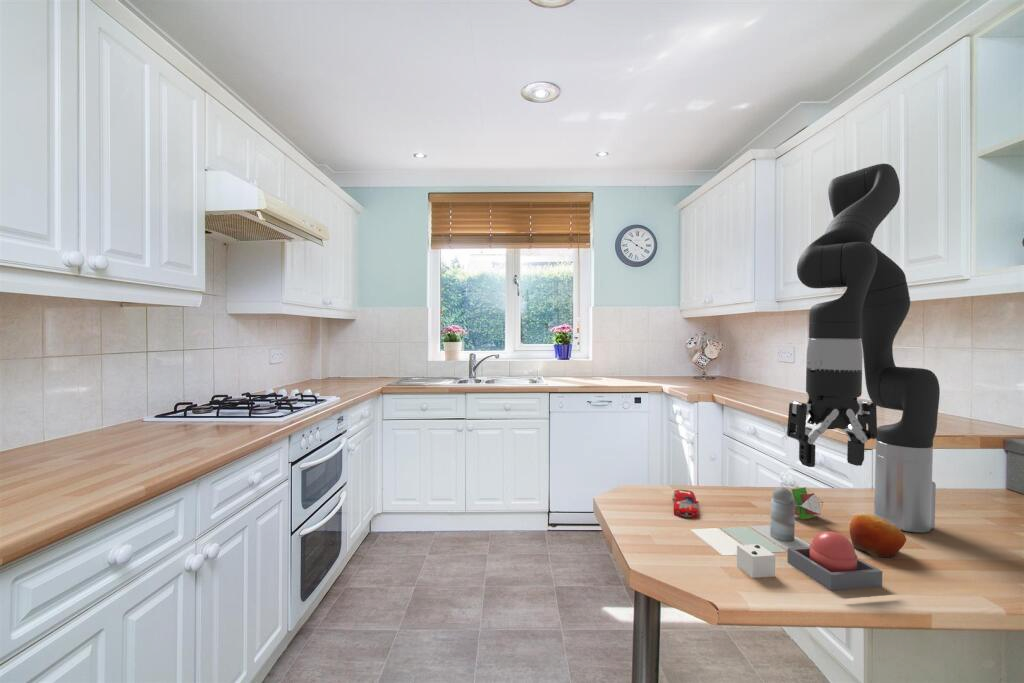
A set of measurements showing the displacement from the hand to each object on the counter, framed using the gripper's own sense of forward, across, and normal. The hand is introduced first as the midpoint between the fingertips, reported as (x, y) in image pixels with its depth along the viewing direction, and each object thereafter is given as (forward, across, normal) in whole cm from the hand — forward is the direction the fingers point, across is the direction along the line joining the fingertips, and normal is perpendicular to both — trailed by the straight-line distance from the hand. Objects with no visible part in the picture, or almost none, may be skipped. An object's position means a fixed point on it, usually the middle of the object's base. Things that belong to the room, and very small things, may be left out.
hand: (831, 465), depth 76 cm
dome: (+17, 0, 0) cm, 17 cm away
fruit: (+19, -15, -6) cm, 25 cm away
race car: (+19, +9, -30) cm, 37 cm away
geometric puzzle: (+18, -14, -22) cm, 32 cm away
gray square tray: (+18, 0, 0) cm, 18 cm away
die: (+18, +12, -2) cm, 22 cm away
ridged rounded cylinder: (+18, -2, -13) cm, 22 cm away
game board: (+18, +5, -13) cm, 23 cm away
